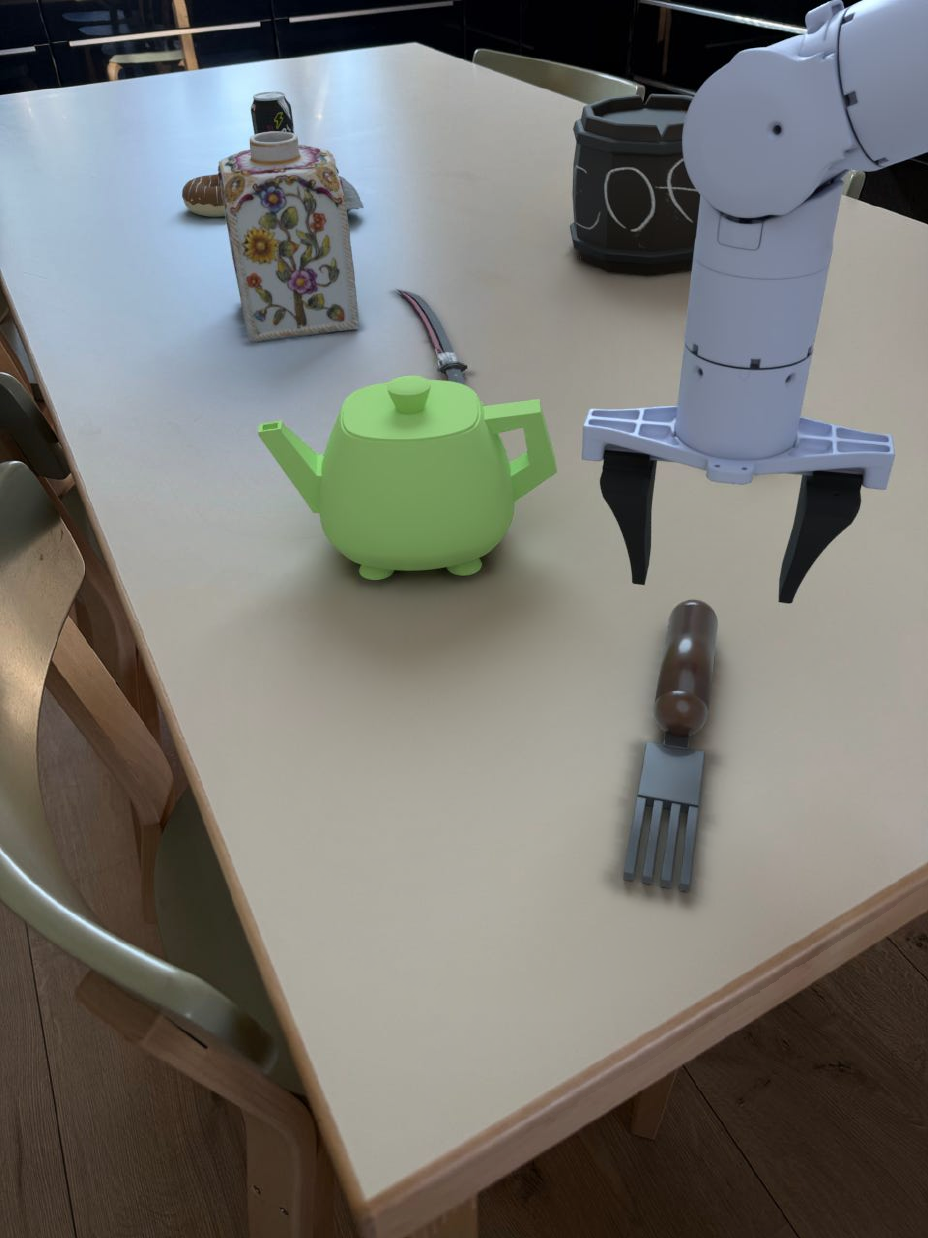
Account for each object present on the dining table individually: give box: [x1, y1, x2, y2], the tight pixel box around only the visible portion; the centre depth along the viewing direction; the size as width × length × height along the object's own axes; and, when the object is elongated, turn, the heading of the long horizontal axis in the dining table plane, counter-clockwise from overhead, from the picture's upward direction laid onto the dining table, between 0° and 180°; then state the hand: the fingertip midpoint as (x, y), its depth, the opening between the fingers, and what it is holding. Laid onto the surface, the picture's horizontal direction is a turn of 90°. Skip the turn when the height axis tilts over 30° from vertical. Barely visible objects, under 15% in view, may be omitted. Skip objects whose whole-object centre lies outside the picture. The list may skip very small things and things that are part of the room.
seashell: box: [338, 175, 364, 212], centre depth 132 cm, size 12×8×5 cm
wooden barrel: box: [569, 93, 701, 277], centre depth 113 cm, size 18×18×16 cm
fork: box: [622, 599, 719, 893], centre depth 55 cm, size 20×3×3 cm, turn 165°
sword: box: [396, 289, 468, 386], centre depth 99 cm, size 31×3×1 cm, turn 13°
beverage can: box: [250, 91, 296, 135], centre depth 143 cm, size 6×6×12 cm
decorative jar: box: [217, 131, 360, 343], centre depth 100 cm, size 12×12×18 cm
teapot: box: [257, 375, 558, 581], centre depth 68 cm, size 20×13×13 cm
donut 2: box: [181, 173, 225, 218], centre depth 136 cm, size 11×11×4 cm
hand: (711, 583), depth 53 cm, fingers open, 7 cm apart
